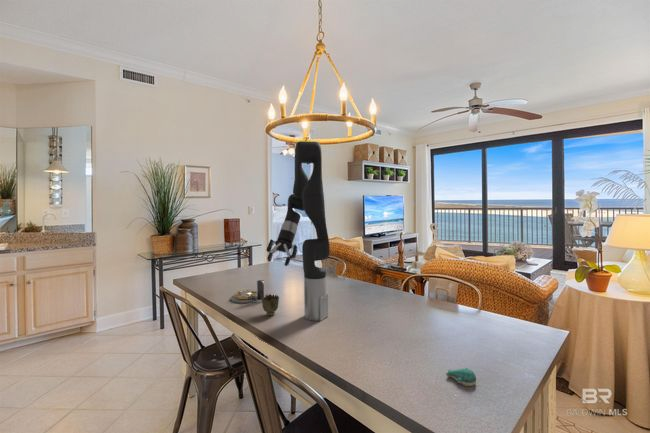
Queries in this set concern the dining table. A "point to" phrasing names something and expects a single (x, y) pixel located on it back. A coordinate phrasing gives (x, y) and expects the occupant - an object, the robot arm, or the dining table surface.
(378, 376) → the dining table surface
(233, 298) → the steel flange
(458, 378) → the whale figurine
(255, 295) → the golden ring with handle
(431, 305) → the dining table surface
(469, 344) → the dining table surface
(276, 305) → the cup
